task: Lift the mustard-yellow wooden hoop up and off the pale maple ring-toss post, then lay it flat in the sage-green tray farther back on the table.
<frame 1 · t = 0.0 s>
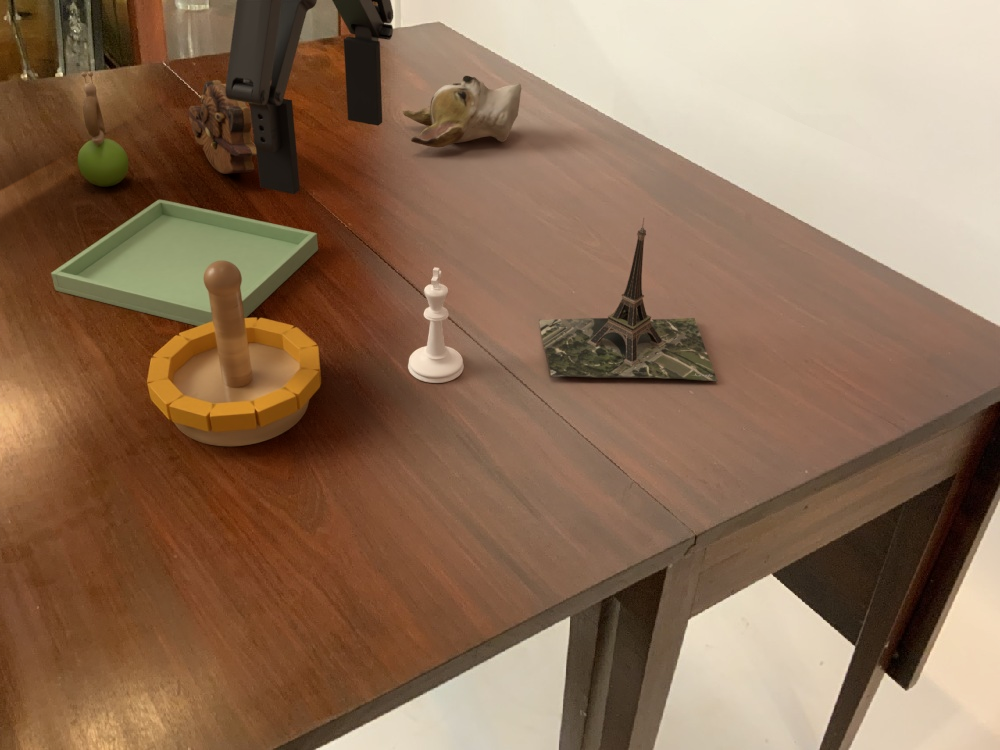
hand: (325, 153, 74), 20 cm above the table, tool pointing down, fingers open, 13 cm apart
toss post: (241, 403, 81), on the table
eiffel tower figurine: (623, 352, 90), on the table
ceramic sculpture: (463, 141, 127), on the table
snail figurine: (108, 184, 113), on the table
wooden carving: (226, 169, 117), on the table
hoop: (237, 379, 80), point 2 cm above the table, touching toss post
tray: (192, 269, 98), on the table
chess piece: (435, 368, 86), on the table
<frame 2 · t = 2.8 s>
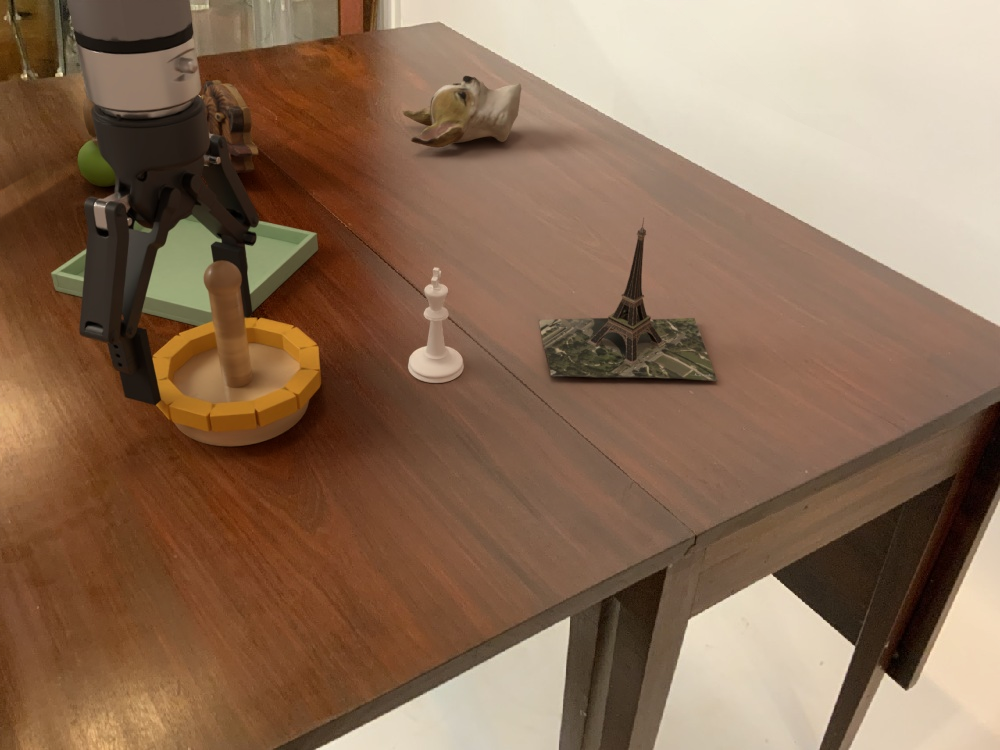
hand: (193, 353, 80), 4 cm above the table, tool pointing down, fingers closed on hoop, 13 cm apart
hoop: (237, 379, 80), point 2 cm above the table, touching gripper, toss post
everything else where it was.
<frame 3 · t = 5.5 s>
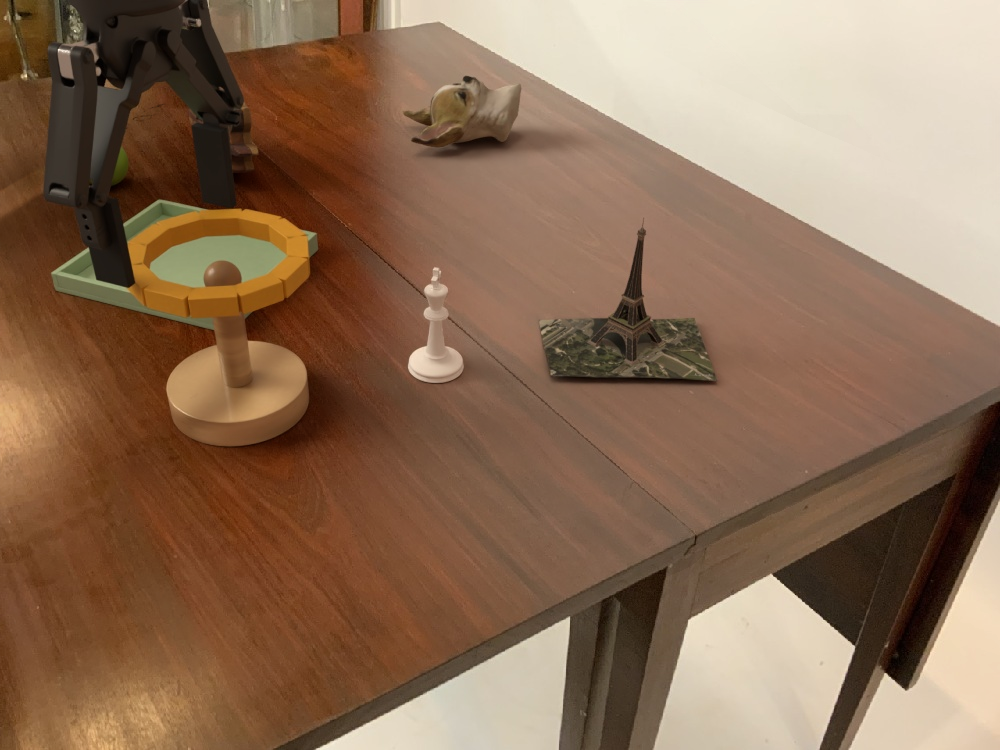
hand: (171, 240, 74), 14 cm above the table, tool pointing down, fingers closed on hoop, 12 cm apart
hoop: (219, 268, 74), point 13 cm above the table, touching gripper
everything else where it was.
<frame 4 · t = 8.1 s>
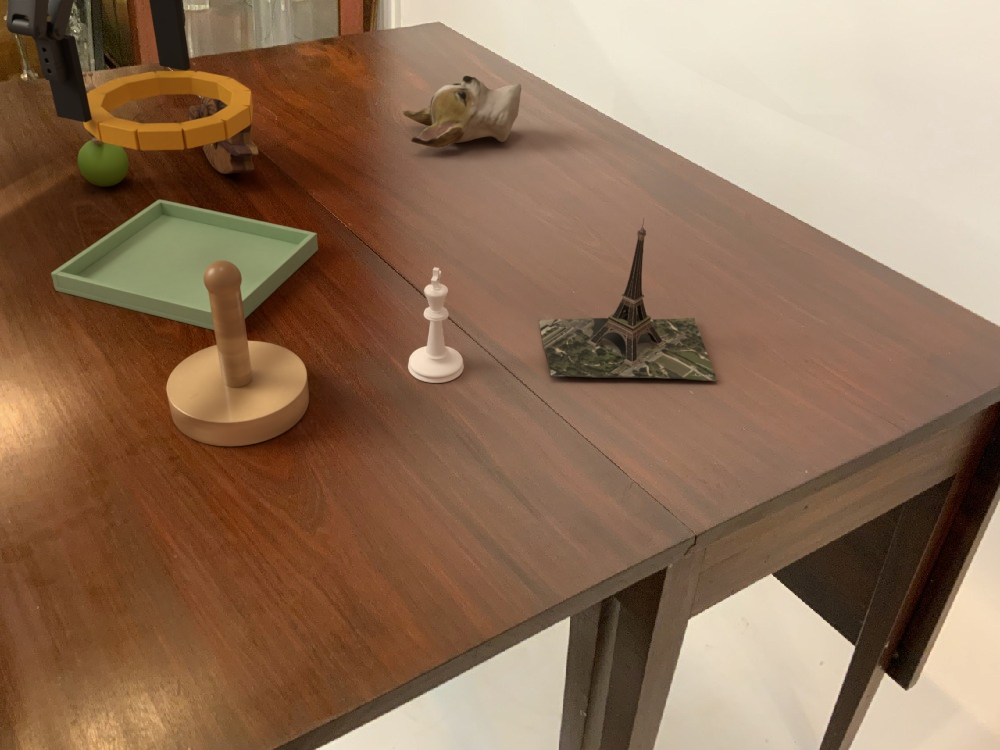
hand: (128, 91, 82), 20 cm above the table, tool pointing down, fingers closed on hoop, 12 cm apart
hoop: (170, 117, 82), point 19 cm above the table, touching gripper
everything else where it was.
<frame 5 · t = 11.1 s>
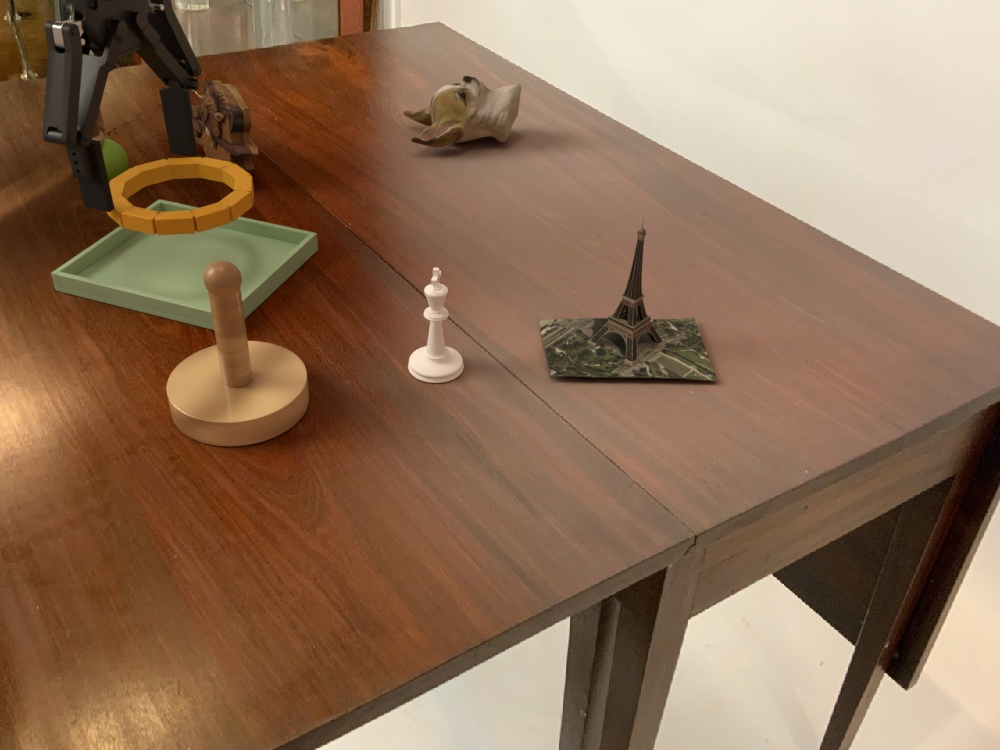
hand: (144, 179, 94), 9 cm above the table, tool pointing down, fingers closed on hoop, 12 cm apart
hoop: (182, 201, 93), point 8 cm above the table, touching gripper
everything else where it was.
when the fingers open (2 cm above the table, at t = 13.4 s): hoop stays where it is, resting on tray.
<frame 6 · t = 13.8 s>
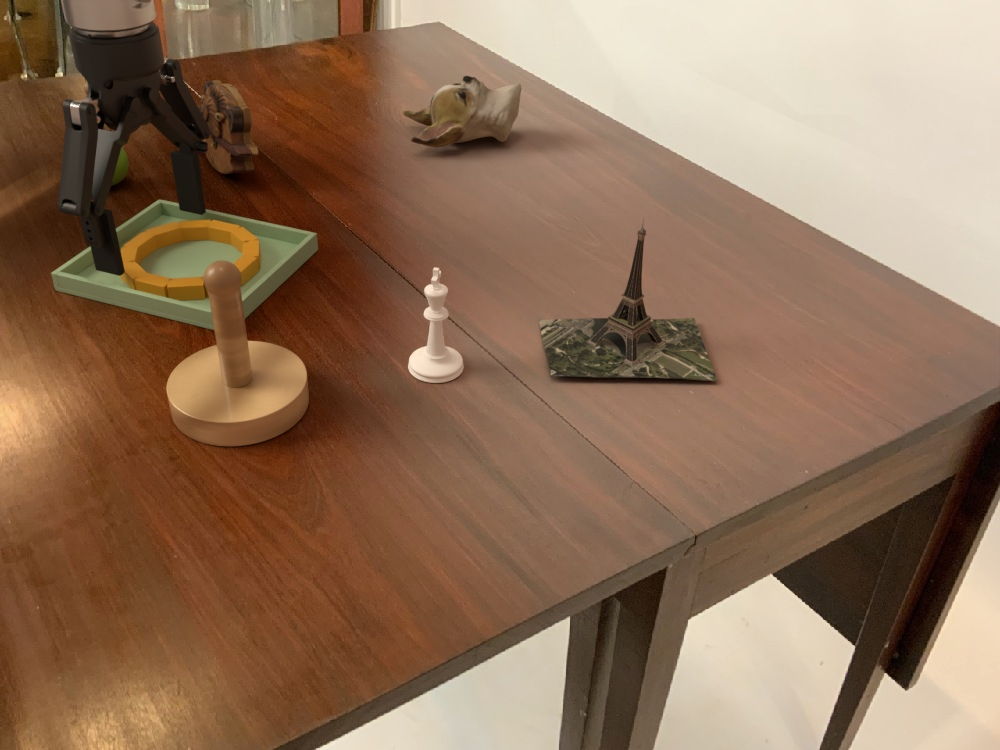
hand: (154, 240, 98), 2 cm above the table, tool pointing down, fingers open, 13 cm apart
hoop: (192, 265, 98), resting on tray
everything else where it was.
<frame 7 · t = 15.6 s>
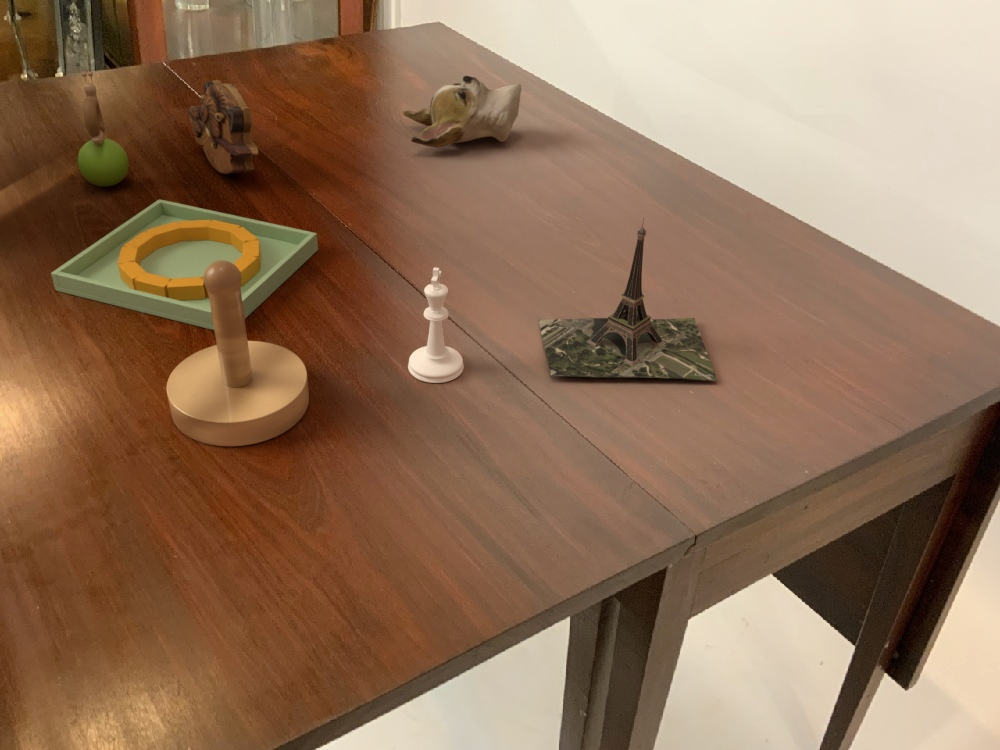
nothing on the table moved.
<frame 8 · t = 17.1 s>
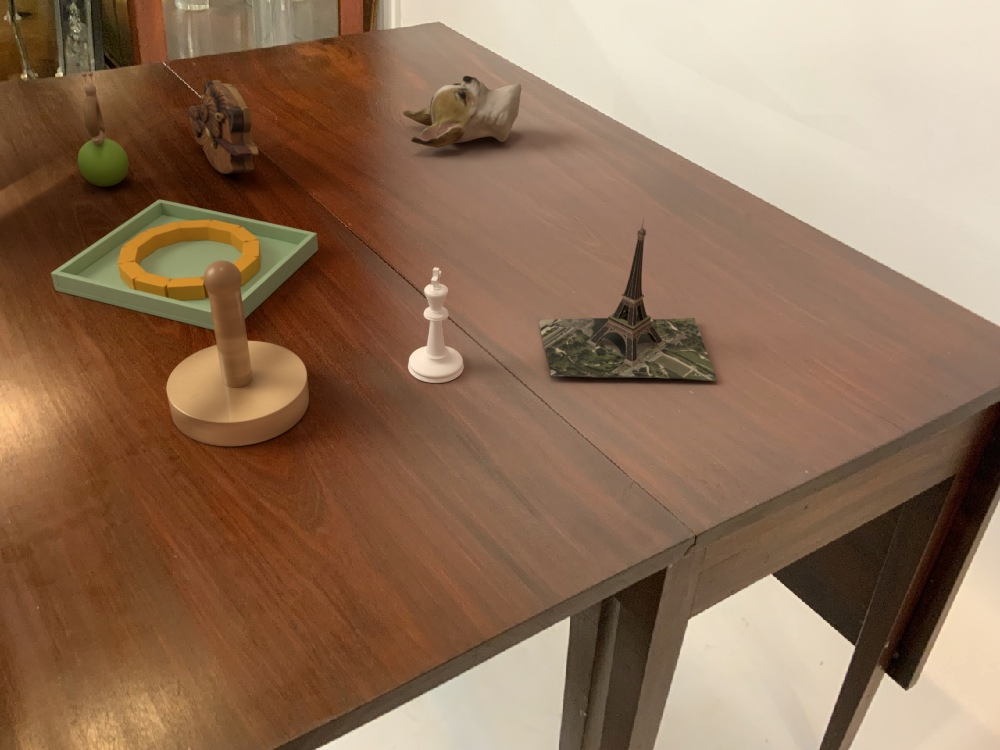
nothing on the table moved.
at the end: hoop inside the target area on the tray (0.1 cm from its centre), point 0.5 cm above the tray's base; hoop touching tray; the gripper is holding nothing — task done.
